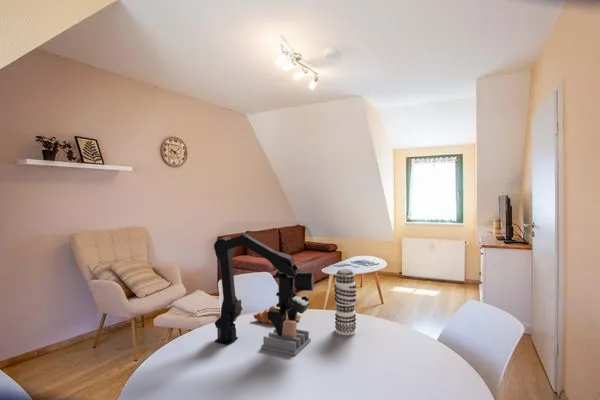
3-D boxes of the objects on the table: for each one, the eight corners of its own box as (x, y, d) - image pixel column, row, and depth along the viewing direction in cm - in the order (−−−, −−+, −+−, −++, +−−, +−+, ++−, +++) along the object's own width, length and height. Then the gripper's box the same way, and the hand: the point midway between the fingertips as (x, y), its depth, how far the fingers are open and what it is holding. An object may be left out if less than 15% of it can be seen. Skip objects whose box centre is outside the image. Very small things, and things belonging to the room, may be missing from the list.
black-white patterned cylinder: (353, 325, 140) (352, 267, 140) (359, 334, 131) (359, 272, 131) (332, 327, 139) (331, 268, 139) (337, 336, 129) (337, 273, 129)
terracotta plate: (277, 341, 123) (277, 320, 123) (280, 339, 125) (280, 318, 125) (294, 344, 120) (293, 323, 120) (296, 342, 122) (296, 321, 122)
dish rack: (261, 348, 120) (261, 337, 120) (279, 334, 131) (278, 324, 131) (295, 355, 113) (295, 344, 113) (310, 341, 125) (310, 330, 125)
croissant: (300, 326, 149) (300, 307, 153) (301, 323, 141) (301, 303, 144) (254, 326, 149) (255, 307, 152) (252, 323, 140) (253, 303, 144)
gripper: (293, 299, 110) (294, 345, 110) (315, 286, 127) (316, 326, 127) (265, 295, 115) (266, 339, 115) (290, 283, 132) (290, 321, 132)
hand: (286, 331), depth 122 cm, fingers open, 9 cm apart
